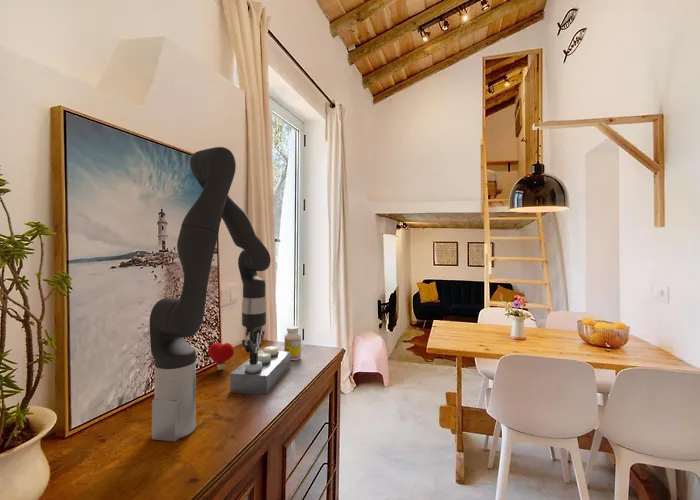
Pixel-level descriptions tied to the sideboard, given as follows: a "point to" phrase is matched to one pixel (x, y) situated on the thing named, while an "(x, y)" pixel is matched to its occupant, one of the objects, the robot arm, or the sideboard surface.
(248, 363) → the cap near
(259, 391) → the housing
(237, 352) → the sideboard surface
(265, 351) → the cap far
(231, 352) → the red heart
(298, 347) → the supplement bottle
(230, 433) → the sideboard surface
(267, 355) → the cap mid
